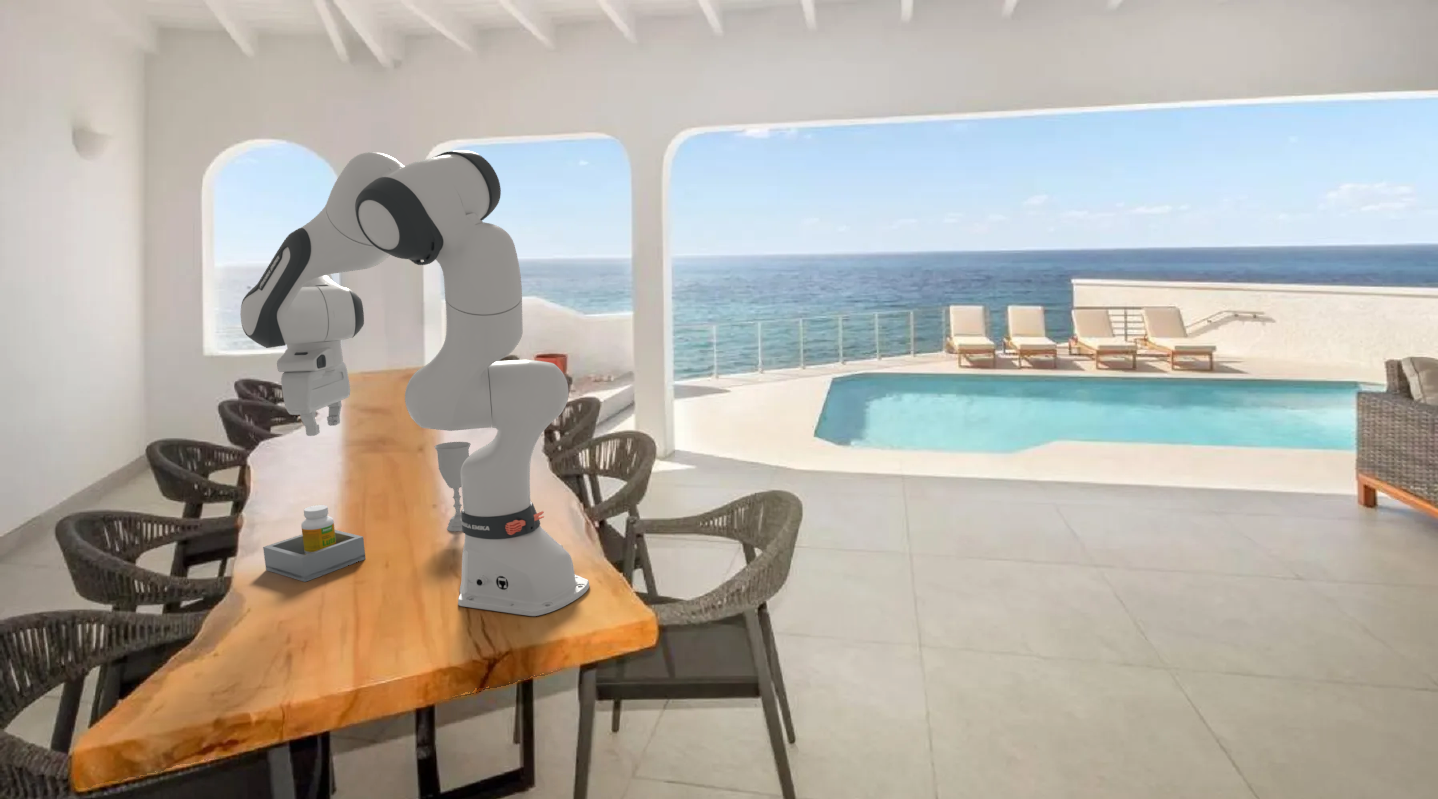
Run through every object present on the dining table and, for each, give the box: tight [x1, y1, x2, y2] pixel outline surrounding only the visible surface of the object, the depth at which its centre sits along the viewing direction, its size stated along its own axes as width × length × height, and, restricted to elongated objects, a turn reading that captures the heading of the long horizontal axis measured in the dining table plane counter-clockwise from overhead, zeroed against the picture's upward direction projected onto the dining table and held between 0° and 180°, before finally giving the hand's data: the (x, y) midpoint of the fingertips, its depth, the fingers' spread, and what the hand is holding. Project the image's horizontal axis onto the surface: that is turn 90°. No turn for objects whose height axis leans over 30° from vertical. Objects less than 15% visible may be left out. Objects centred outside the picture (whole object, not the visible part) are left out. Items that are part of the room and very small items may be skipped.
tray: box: [262, 529, 366, 583], centre depth 141 cm, size 12×12×4 cm
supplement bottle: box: [301, 504, 336, 555], centre depth 141 cm, size 5×5×10 cm
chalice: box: [434, 441, 471, 532], centre depth 159 cm, size 7×7×18 cm
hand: (324, 429), depth 141 cm, fingers open, 8 cm apart
